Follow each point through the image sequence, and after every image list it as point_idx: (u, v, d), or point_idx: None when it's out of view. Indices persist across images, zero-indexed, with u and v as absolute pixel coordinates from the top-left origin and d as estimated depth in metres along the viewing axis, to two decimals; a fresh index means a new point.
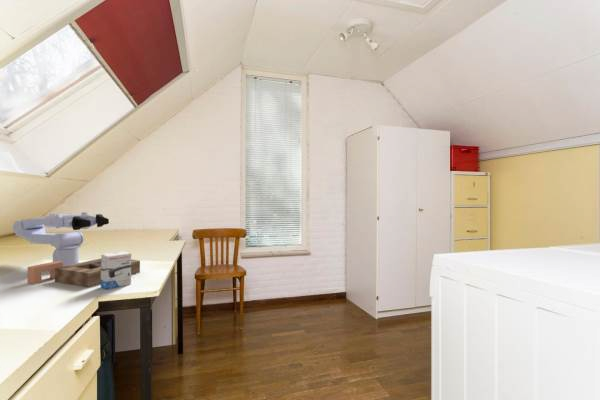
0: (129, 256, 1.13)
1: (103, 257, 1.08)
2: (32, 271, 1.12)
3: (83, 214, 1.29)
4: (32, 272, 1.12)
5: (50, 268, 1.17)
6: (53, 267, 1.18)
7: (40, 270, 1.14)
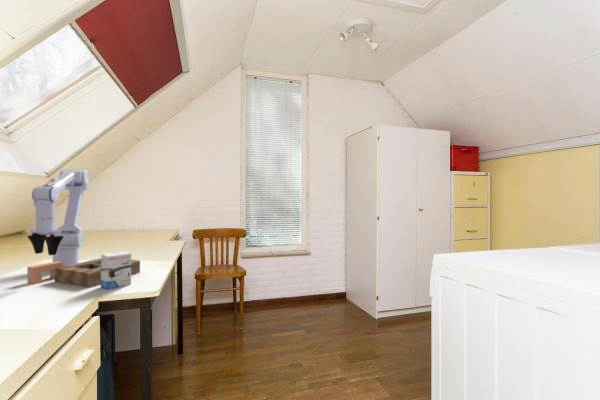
0: (129, 256, 1.13)
1: (103, 257, 1.08)
2: (32, 271, 1.12)
3: (35, 232, 1.14)
4: (32, 272, 1.12)
5: (50, 268, 1.17)
6: (53, 267, 1.18)
7: (40, 270, 1.14)
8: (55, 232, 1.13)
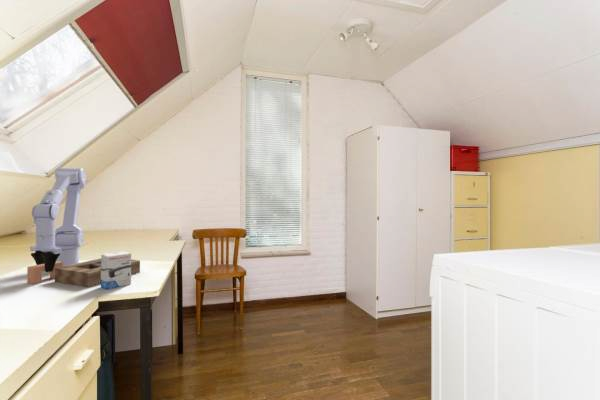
0: (129, 256, 1.13)
1: (103, 257, 1.08)
2: (32, 271, 1.12)
3: None
4: (32, 272, 1.12)
5: None
6: None
7: (40, 270, 1.14)
8: (55, 250, 1.14)
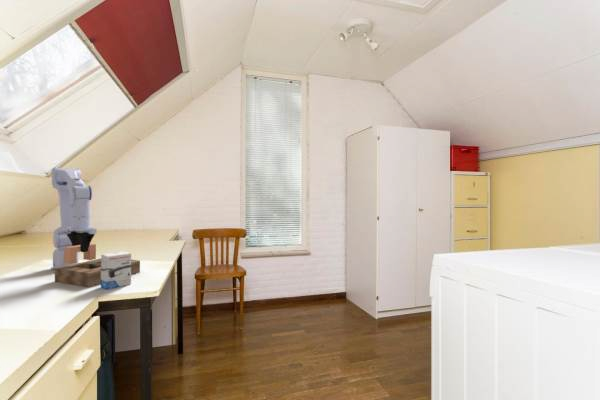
0: (129, 256, 1.13)
1: (103, 257, 1.08)
2: (68, 251, 1.15)
3: None
4: (68, 252, 1.15)
5: None
6: None
7: (76, 251, 1.17)
8: (91, 230, 1.17)
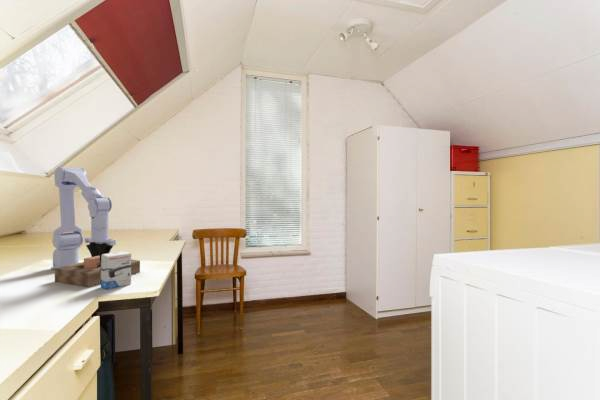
0: (129, 256, 1.13)
1: (103, 257, 1.08)
2: (89, 262, 1.17)
3: (91, 241, 1.20)
4: (89, 263, 1.17)
5: None
6: None
7: (95, 262, 1.19)
8: (110, 241, 1.19)
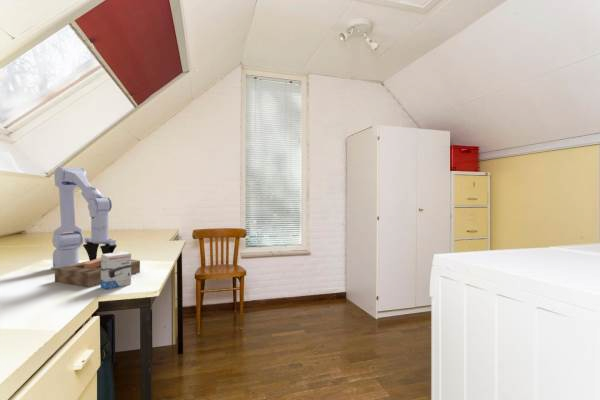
0: (129, 256, 1.13)
1: (103, 257, 1.08)
2: (89, 267, 1.17)
3: (91, 241, 1.20)
4: (89, 268, 1.17)
5: None
6: None
7: (95, 266, 1.19)
8: (110, 241, 1.19)
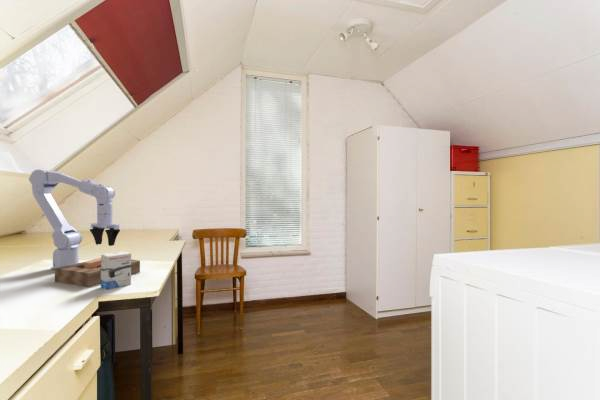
0: (129, 256, 1.13)
1: (103, 257, 1.08)
2: (89, 266, 1.17)
3: (97, 226, 1.32)
4: (89, 267, 1.17)
5: None
6: None
7: (95, 265, 1.19)
8: (114, 226, 1.32)
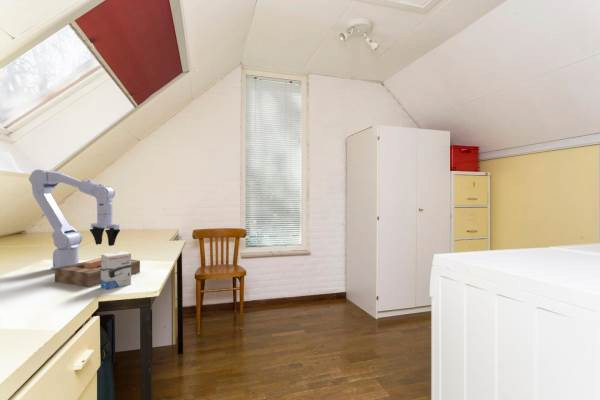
0: (129, 256, 1.13)
1: (103, 257, 1.08)
2: (89, 266, 1.17)
3: (97, 226, 1.32)
4: (89, 267, 1.17)
5: None
6: None
7: (95, 265, 1.19)
8: (114, 226, 1.32)
